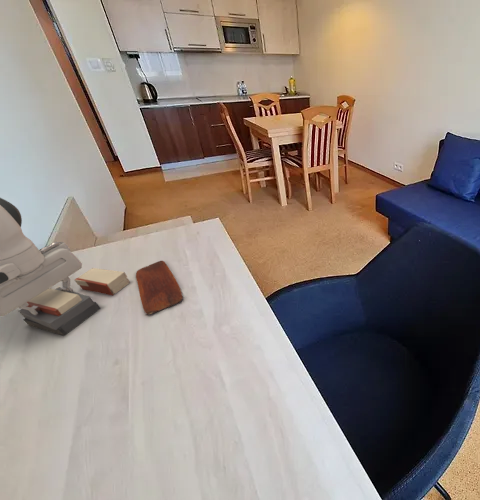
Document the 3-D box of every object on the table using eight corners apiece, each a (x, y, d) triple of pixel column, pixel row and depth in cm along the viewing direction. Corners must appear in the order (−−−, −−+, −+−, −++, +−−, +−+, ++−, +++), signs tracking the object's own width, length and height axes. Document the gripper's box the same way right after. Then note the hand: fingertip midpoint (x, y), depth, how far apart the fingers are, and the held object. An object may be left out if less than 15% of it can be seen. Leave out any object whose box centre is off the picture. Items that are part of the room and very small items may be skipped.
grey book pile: (26, 326, 82) (13, 313, 79) (67, 299, 90) (57, 286, 87) (63, 337, 78) (51, 324, 75) (103, 307, 86) (93, 294, 83)
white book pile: (81, 289, 93) (73, 279, 91) (101, 276, 99) (94, 266, 96) (112, 296, 90) (105, 286, 87) (131, 282, 95) (125, 272, 93)
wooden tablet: (185, 301, 86) (183, 296, 85) (146, 318, 81) (144, 314, 80) (167, 259, 104) (165, 255, 103) (134, 272, 99) (132, 268, 98)
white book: (25, 307, 80) (20, 302, 79) (50, 292, 85) (45, 287, 84) (59, 316, 77) (54, 310, 76) (82, 300, 81) (78, 294, 80)
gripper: (54, 236, 82) (83, 276, 90) (-45, 286, 66) (1, 328, 74) (70, 239, 80) (98, 279, 88) (-28, 290, 64) (18, 333, 72)
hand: (53, 302), depth 81 cm, fingers open, 6 cm apart
